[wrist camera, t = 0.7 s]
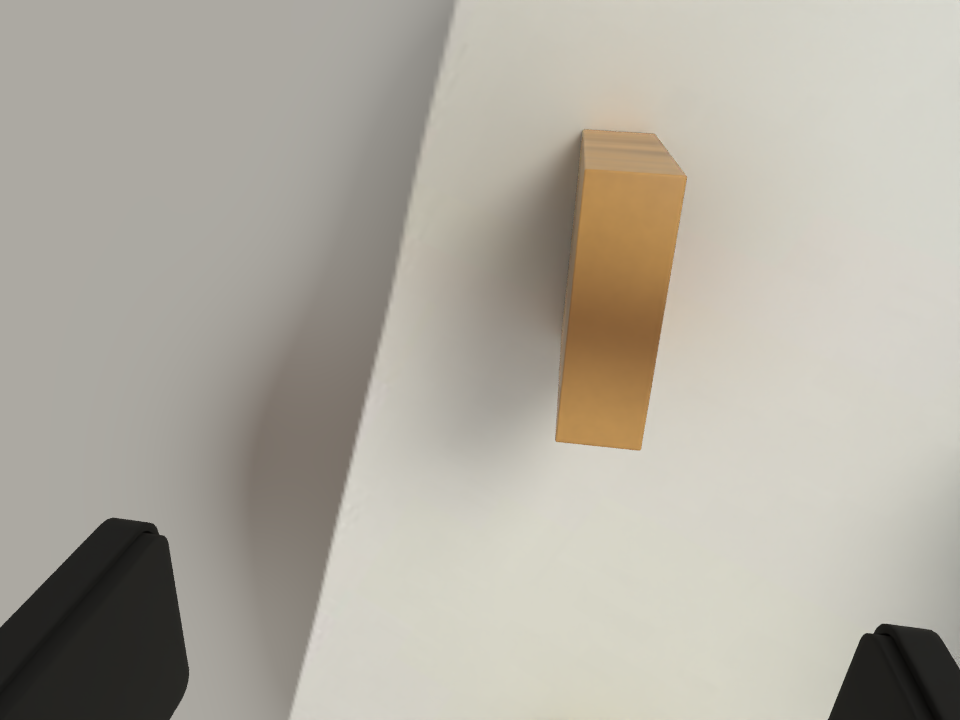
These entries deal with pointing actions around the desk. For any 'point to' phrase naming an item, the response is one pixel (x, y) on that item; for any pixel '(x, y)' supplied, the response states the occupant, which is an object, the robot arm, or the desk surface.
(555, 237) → the desk surface
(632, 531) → the desk surface
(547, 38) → the desk surface
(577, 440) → the golden wooden block
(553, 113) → the desk surface
